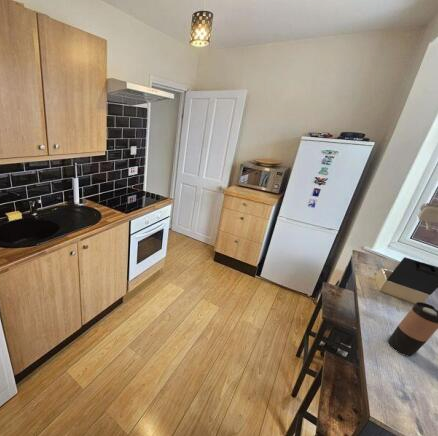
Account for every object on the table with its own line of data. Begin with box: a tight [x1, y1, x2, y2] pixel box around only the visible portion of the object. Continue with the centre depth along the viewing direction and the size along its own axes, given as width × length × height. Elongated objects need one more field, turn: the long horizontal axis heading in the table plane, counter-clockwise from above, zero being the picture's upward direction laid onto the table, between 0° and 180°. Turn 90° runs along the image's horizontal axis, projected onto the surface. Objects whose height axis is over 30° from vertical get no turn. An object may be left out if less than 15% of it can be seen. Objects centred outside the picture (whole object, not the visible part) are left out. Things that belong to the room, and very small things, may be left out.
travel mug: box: [387, 302, 438, 357], centre depth 85 cm, size 8×8×20 cm
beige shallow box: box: [374, 267, 430, 305], centre depth 120 cm, size 15×16×7 cm
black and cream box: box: [387, 256, 438, 296], centre depth 107 cm, size 15×16×5 cm
